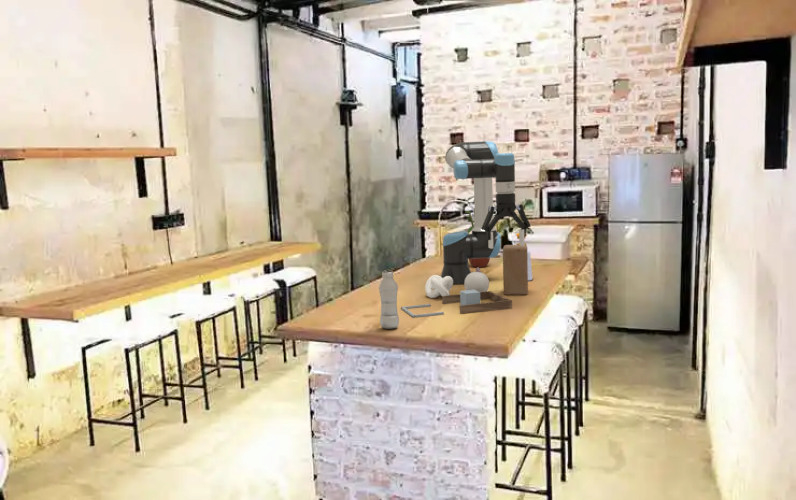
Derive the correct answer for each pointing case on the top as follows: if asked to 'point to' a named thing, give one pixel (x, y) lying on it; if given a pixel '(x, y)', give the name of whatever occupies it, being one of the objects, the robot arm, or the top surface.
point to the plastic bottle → (388, 301)
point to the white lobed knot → (438, 286)
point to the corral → (420, 314)
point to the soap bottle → (528, 260)
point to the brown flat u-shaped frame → (497, 305)
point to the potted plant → (478, 261)
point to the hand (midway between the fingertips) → (506, 247)
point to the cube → (469, 297)
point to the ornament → (476, 281)
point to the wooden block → (515, 270)
